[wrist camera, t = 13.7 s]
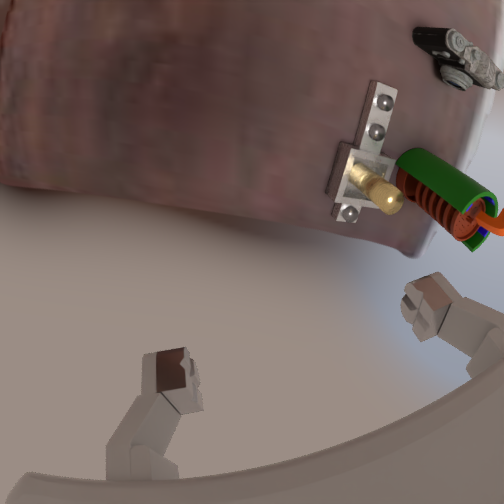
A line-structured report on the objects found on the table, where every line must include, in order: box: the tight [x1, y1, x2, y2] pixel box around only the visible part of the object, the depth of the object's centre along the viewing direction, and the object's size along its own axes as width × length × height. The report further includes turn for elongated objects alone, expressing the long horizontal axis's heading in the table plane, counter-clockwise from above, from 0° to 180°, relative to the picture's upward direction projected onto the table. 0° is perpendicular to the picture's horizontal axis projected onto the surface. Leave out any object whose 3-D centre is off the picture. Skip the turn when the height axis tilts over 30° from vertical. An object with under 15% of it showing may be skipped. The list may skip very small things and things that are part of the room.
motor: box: [395, 148, 504, 252], centre depth 36 cm, size 10×9×20 cm
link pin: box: [349, 163, 404, 215], centre depth 38 cm, size 4×4×9 cm
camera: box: [412, 27, 504, 91], centre depth 29 cm, size 15×7×10 cm, turn 75°
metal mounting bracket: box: [326, 81, 398, 223], centre depth 39 cm, size 22×8×3 cm, turn 169°
